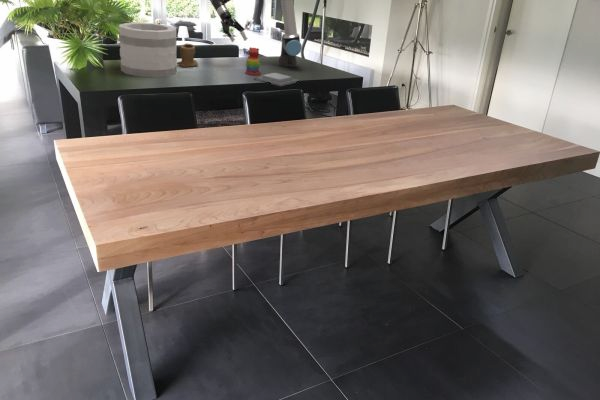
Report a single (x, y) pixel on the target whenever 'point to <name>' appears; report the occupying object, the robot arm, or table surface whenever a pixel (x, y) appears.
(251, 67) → the stacking bear
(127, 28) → the storage basket
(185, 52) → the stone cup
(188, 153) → the table surface
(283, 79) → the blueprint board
